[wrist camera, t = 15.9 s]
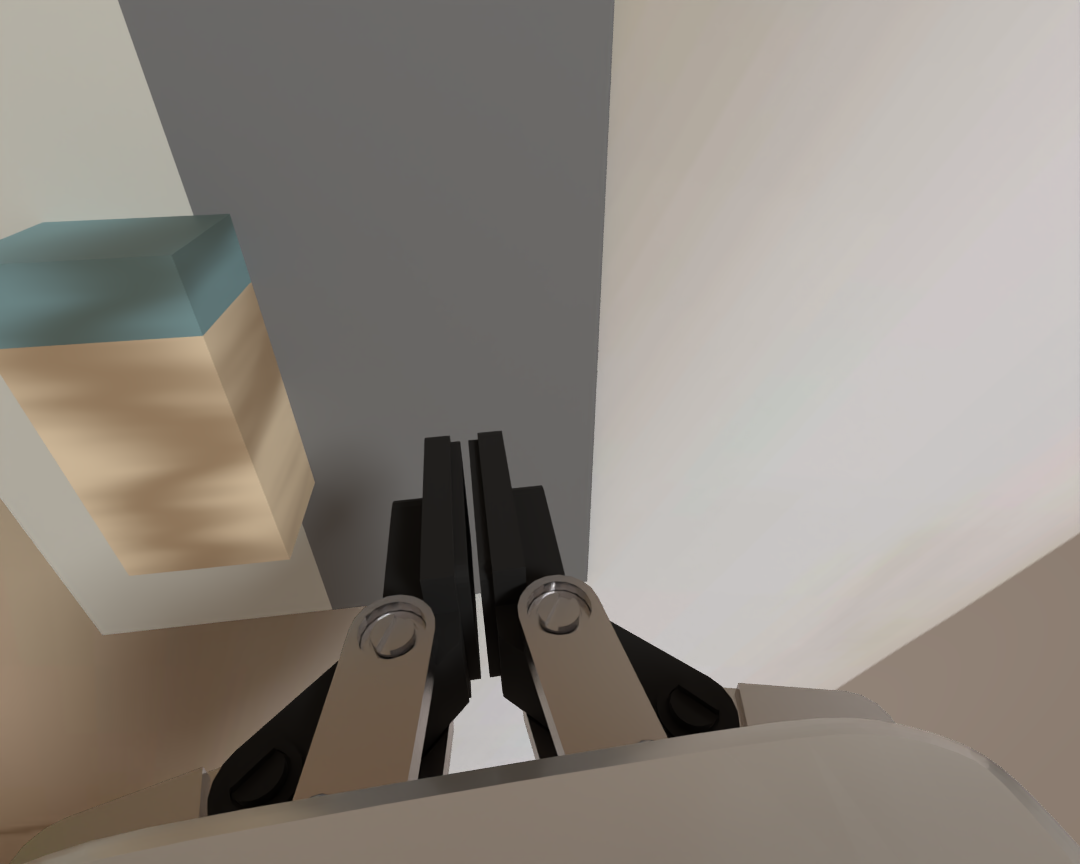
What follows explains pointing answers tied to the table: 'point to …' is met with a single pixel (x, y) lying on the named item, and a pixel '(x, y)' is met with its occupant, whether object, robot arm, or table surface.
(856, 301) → the table surface
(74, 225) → the block
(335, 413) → the mat
